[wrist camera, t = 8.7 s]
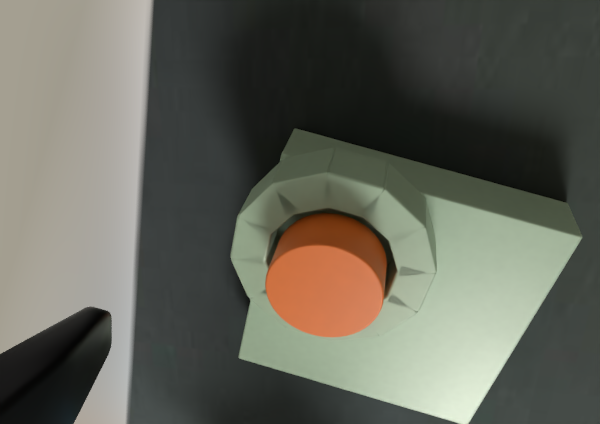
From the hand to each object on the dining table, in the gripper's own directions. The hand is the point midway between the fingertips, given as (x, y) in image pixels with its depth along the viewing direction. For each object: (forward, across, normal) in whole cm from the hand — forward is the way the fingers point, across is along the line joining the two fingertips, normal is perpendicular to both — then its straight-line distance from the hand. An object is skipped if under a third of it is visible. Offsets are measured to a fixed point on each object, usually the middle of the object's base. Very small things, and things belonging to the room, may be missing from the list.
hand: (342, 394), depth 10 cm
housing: (+11, -2, +5) cm, 13 cm away
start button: (+8, +1, +3) cm, 8 cm away
